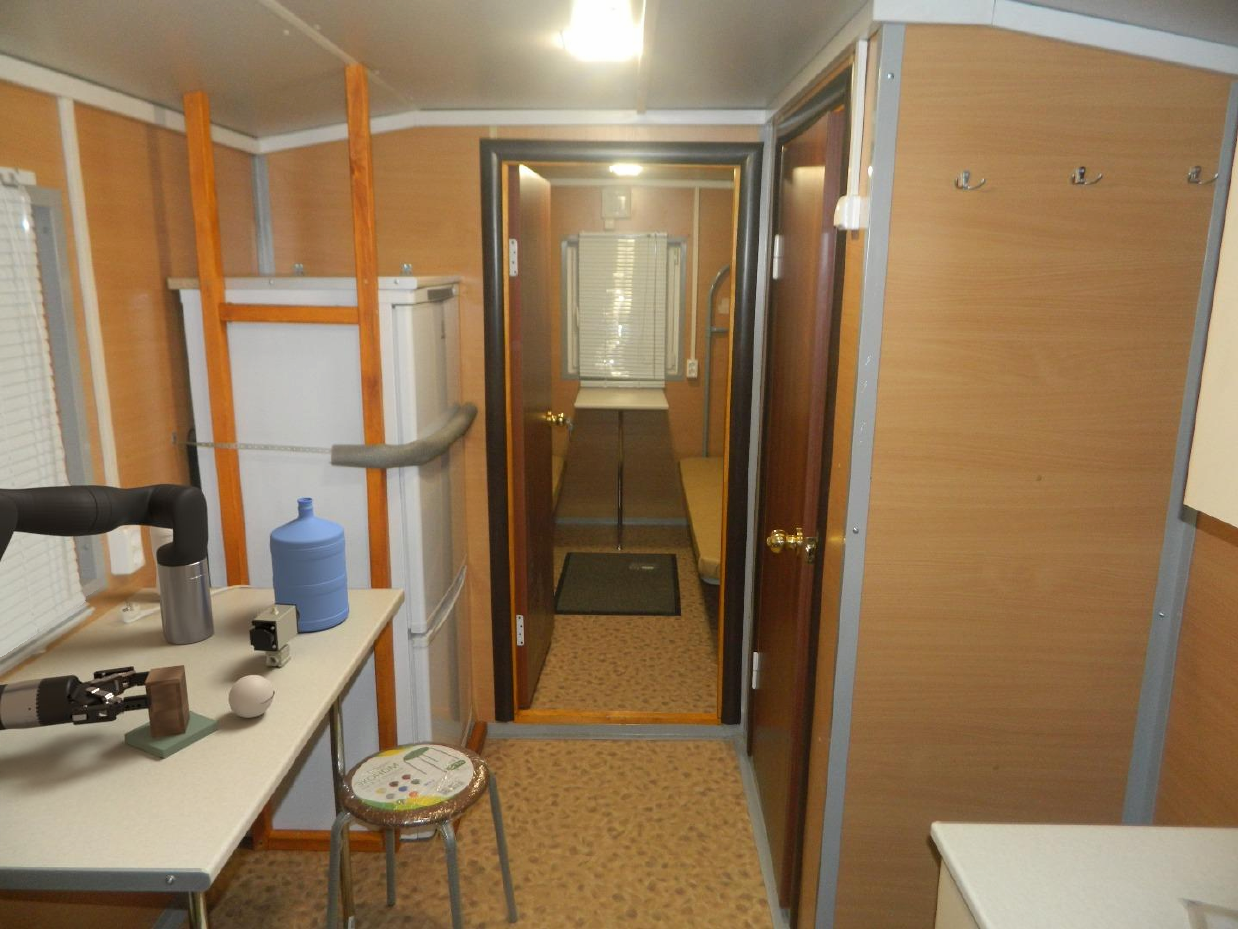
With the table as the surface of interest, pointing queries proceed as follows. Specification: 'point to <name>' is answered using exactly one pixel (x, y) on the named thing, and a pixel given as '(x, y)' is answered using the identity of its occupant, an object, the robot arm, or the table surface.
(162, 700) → the brown wooden block
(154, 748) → the stub base
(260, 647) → the pneumatic valve
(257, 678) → the seamed sphere
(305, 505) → the water jug
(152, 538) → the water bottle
